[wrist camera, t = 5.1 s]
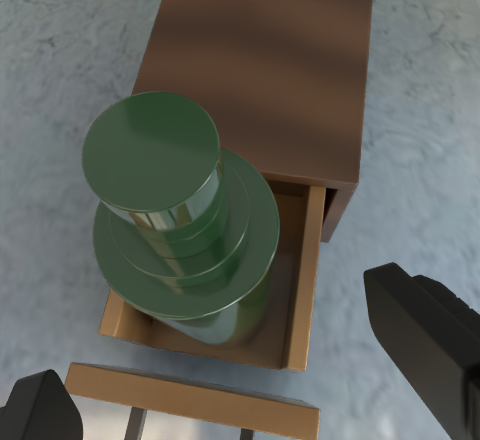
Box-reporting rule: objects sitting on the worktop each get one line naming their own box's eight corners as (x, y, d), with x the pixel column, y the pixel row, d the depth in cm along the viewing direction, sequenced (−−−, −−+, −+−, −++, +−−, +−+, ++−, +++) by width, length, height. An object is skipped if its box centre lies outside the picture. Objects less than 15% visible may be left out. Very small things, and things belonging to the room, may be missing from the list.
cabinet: (328, 243, 27) (358, 184, 19) (154, 217, 28) (112, 151, 20) (346, 63, 32) (376, -44, 24) (198, 47, 33) (179, -60, 25)
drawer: (290, 513, 21) (305, 573, 14) (93, 471, 22) (26, 510, 15) (325, 196, 27) (346, 140, 20) (169, 175, 28) (144, 115, 22)
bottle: (274, 266, 24) (306, 52, 8) (260, 358, 22) (269, 310, 7) (187, 253, 25) (62, 27, 9) (167, 342, 23) (-35, 259, 7)
